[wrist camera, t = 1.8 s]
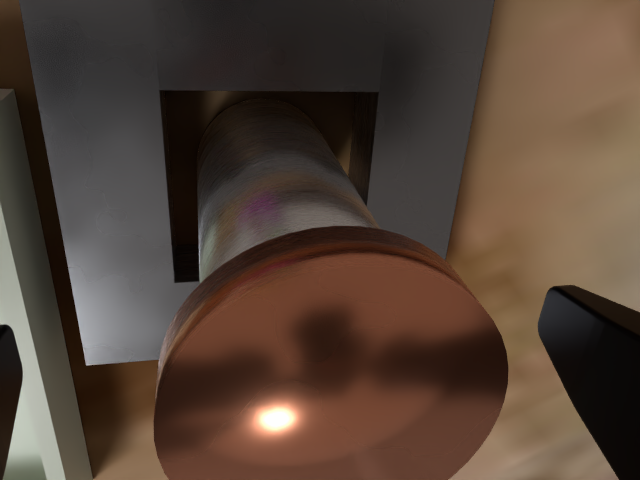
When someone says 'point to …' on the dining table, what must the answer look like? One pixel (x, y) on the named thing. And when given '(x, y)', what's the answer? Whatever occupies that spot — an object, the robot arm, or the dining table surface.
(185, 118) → the dining table surface
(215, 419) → the salt shaker
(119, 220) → the collar
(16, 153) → the tray
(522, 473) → the dining table surface
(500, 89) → the dining table surface
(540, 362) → the dining table surface
